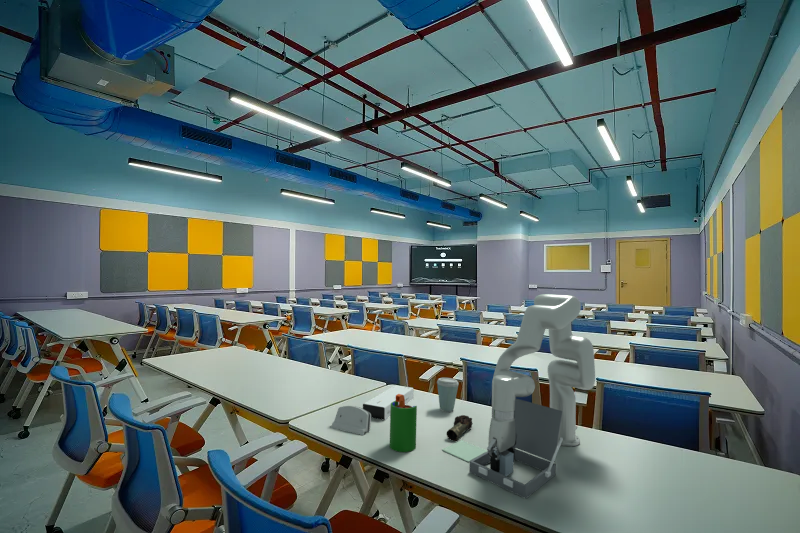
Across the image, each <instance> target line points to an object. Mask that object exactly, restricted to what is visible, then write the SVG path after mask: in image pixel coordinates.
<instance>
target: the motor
mask: <svg viewBox="0 0 800 533" xmlns="http://www.w3.org/2000/svg"><path fill="white" fill-rule="evenodd" d="M398 402H399V405H398ZM417 407H418V406H417V405H413V406H411V405H408V404H406V405H405V399H404V395H401V394H398V395H396V401H394V402H392V403H391V411H390V417H389V418H390V419H389V448H390V449H391V450H393V451H395V452H399V453H407V452H412V451H414V450H416V448H417V418H418V417H417V415H418V414H417V411H418V408H417Z"/></svg>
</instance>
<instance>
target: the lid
mask: <svg viewBox="0 0 800 533" xmlns="http://www.w3.org/2000/svg"><path fill="white" fill-rule="evenodd" d="M562 414H563V411H560V410H556V409H553V408H550V406H549V407H548V406H545V405H540V404H538V403H534V402H530V401H526V400H524V399H520V398H517V397H516V398H515V433H516V434H517V439H516V445H515V449H517V450H520V451H523V452H525V453H528V454H531V455H533V456H536V457H538V458H541V459H544V460H546V461H549V462H551V460H552V458H553V455H554V453H555V450H556V448H557V445H558V439H559V433H560V427H561V420H562ZM555 462H556V459H555V460H554V464H556V463H555Z"/></svg>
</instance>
